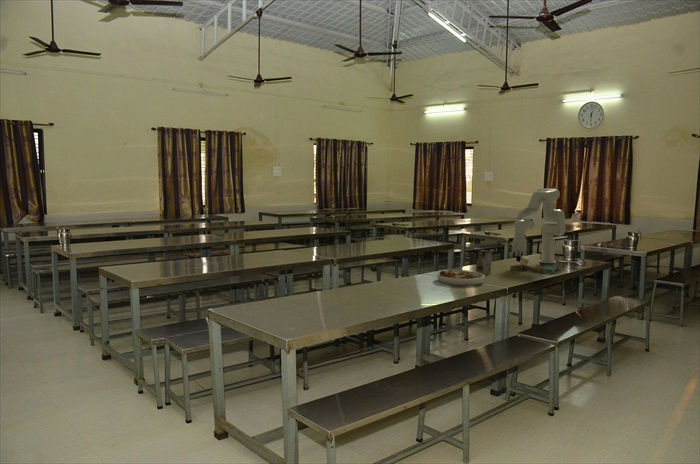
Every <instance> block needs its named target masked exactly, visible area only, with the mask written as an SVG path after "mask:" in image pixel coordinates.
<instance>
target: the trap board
mask: <svg viewBox="0 0 700 464" xmlns="http://www.w3.org/2000/svg"><path fill="white" fill-rule="evenodd" d="M557 267H558V266H557V265H548V264H545V265H538V264H537V263H529V262H528V263H527V265H526V266H525V265H523V264H520V263H519V262H517V261H516V262H514V263H513V264H511V265H510V271H511V270H512V271H519V272H531V273H540V274H541V273H542V274H550V275H551V274H554V273H555V272H556V271H557Z"/></svg>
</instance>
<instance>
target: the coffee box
mask: <svg viewBox="0 0 700 464" xmlns="http://www.w3.org/2000/svg"><path fill="white" fill-rule="evenodd" d="M492 254H493V250H492V251H490V250H487V249H476V260H475V261H476V262H475V263H476V267H475V272H477V273H481V274H483V275H491V273H492V258H493V257H492V256H493V255H492Z"/></svg>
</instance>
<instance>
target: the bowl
mask: <svg viewBox="0 0 700 464" xmlns="http://www.w3.org/2000/svg"><path fill="white" fill-rule="evenodd" d="M436 277H437V279H438V281H439V282H441V283H443V284H445V285H450V286H458V285H460V286H459V287H463V286H464V287H466V286H467V287H469V286H471V285H472V286H478V285H480V284H482V283H483V282H484V281H485V277H486V276H485V274H481V273H477V272H476V271H470V270H458V269H457V270H453V269H449V270H441V271H438V272H437V273H436ZM472 286H471V287H472Z"/></svg>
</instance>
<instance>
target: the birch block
mask: <svg viewBox="0 0 700 464" xmlns="http://www.w3.org/2000/svg"><path fill="white" fill-rule="evenodd" d="M529 261H530V258H529V257H526V256H524V255H522V256H521V260H520V262H518V263H520V264H523V265H525V266H526V265H527V263H528V264H529Z"/></svg>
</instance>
